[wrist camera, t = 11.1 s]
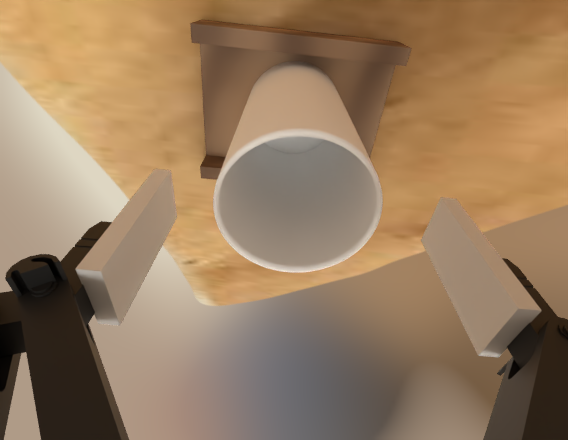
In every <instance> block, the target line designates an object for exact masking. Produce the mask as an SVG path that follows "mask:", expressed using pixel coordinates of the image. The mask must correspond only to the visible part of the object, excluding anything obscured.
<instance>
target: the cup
mask: <svg viewBox="0 0 568 440" xmlns="http://www.w3.org/2000/svg"><path fill="white" fill-rule="evenodd" d="M382 203H383V198H382V190H381V185H380V181H379V178H378V175H377V173H376V171H375V168H374V166H373V164H372V162H371V160H370V158H369V156H368V154H367V152H366V150H365V148H364V145H363V143H362V141H361V139H360V137H359V135H358V133H357V131H356V129H355V127H354V125H353V123H352V121H351V119H350V117H349V115H348V112H347V110H346V108H345V106H344V104H343V102H342V100H341V98H340V96H339V94H338V92H337V90H336V88H335V86H334V84H333V82H332V81H331V79H330V78H329V77H328V76H327V75H326V74H325V73H324V72H323V71H322V70H320V69H319V68H317V67H315V66H313V65H311V64H309V63H305V62H299V61H290V62H284V63H280V64H278V65H275V66H273V67H272V68H270V69H268V70H267V71H266V72H264V73H263V74H262V75H261V76H260V77H259V79H258V80H257V81H256V83H255V84H254V86H253V88H252V90H251V93H250V95H249V98H248V101H247V103H246V106H245V108H244V111H243V114H242V116H241V119H240V121H239V124H238V127H237V129H236V132H235V134H234V137H233V140H232V142H231V145H230V147H229V150H228V152H227V155H226V158H225V160H224V163H223V166H222V168H221V171H220V174H219V176H218V179H217V182H216V186H215V191H214V198H213V208H214V215H215V219H216V222H217V225H218V227H219V230H220V232H221V233H222V235H223V237H224V238H225V239H226V241H227V242H228V243H229V244H230V246H231V247H232V248H233V249H234V250H236V251H237V252H238V253H239V254H240V255H242V256H243V257H245V258H246V259H248V260H249V261H251V262H253V263H255V264H258V265H260V266H262V267H265V268H268V269H272V270H277V271H282V272H295V273H297V272H311V271H317V270H321V269H325V268H328V267H331V266H333V265H336V264H338V263H340V262H342V261H344V260H346V259H347V258H349V257H351V256H352V255H353V254H355V253H356V252H357V251H358V250H360V249H361V248H362V247H363V246H364V245H365V244H366V242H367V241H368V240H369V239H370V237H371V236H372V234H373V233H374V231H375V229H376V227H377V225H378V223H379V220H380V216H381V212H382Z"/></svg>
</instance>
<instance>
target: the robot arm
mask: <svg viewBox="0 0 568 440" xmlns="http://www.w3.org/2000/svg"><path fill="white" fill-rule="evenodd" d="M176 218H177V212H176V205H175V197H174V190H173V182H172V175H171V170H163V169H154V170H153V172H152V173H151V174H150V175H149V177H148V178H147V179H146V180H145V182H144V183H143V184H142V185H141V187H140V188H139V189H138V190H137V192H136V193H135V194H134V196H133V197H132V198H131V199H130V201H129V202H128V203H127V204H126V206H125V207H124V208H123V209H122V211H121V212H120V213H119V215H118V216H117V217H116V218H115V220H114V221H113V222H102V221H101V222H99V223H98V224H96V225H94V226H93V227H91V228H90V229H89V230H88V231H87V232H86V233H85V234H84V235H83V237H82V238H81V240H79V241H78V242H77V243H76V244H75V247H73V248H72V249H71V250H70V251H69V253H68V254H67V255H66V256H65V257H64V258H63V260H62V261H61V262H60V261H59V260H58V259H57V257H55V256H52V255H49V254H48V255H47V254H40V255H36V256H30V257H28V258H25V259H23V260H21V261H19V262H18V263H16V264H14V265H13V266H12V267H11V268H10V269H9V270H8V272H7V273H6V281H7V282H8V284H9V285H10V287H11V288H12V290H13V291H10V292H3V293H0V440H4V435H5V430H6V425H7V420H8V415H9V410H10V405H11V400H12V396H13V390H14V386H15V381H16V376H17V371H18V366H19V361H20V356H21V353H23V352H26V353H27V358H28V364H29V370H30V376H31V382H32V388H33V394H34V400H35V405H36V411H37V418H38V423H39V429H40V435H41V440H129V438H128V435H127V433H126V430H125V427H124V424H123V421H122V418H121V415H120V412H119V409H118V407H117V404H116V401H115V398H114V395H113V392H112V389H111V386H110V384H109V381H108V378H107V375H106V372H105V369H104V367H103V364H102V361H101V358H100V355H99V352H98V349H97V346H96V343H95V341H94V338H93V335H92V332H91V329H90V327H89V325H88V323H89V321H90V320H91V318H92V316H93V315H94V314H95V316H96V319H97V321H98V323H99V324H110V325H121V323H122V321H123V319H124V317H125V315H126V313H127V312H128V309H129V308H130V306H131V304H132V302H133V300H134V298H135V296H136V294H137V292H138V291H139V289H140V287H141V285H142V283H143V281H144V279H145V277H146V275H147V273H148V272H149V270H150V268H151V266H152V264H153V262H154V260H155V258H156V256H157V254H158V252H159V251H160V249H161V247H162V245H163V243H164V241H165V239H166V237H167V235H168V233H169V232H170V230H171V228H172V226H173V224H174V222H175V220H176ZM421 241H422V243H423V245H424V247H425V249H426V251H427V253H428V255H429V257H430V259H431V261H432V263H433V265H434V267H435V269H436V271H437V273H438V275H439V277H440V279H441V281H442V283H443V286H444V288H445V290H446V292H447V294H448V296H449V297H450V300H451V301H452V303H453V306H454V308H455V310H456V312H457V314H458V316H459V318H460V320H461V322H462V324H463V326H464V328H465V330H466V332H467V334H468V336H469V338H470V340H471V342H472V344H473V346H474V348H475V350H476V352H477V354H478V356H490V357H499V356H500V355H501V354H502V353H503V352H504V351H505V350H506V349H507V348H508V350H509V351H510V353H511V355H512V356H513V357H512V358H511V359H510V361H508V362H507V363H506V364H505V365H504V366H503V367H502V369H501V370H500V371H499V372H498V373H497V374H498V375H502V374H503V373H504V372H505V373H504V376H503V379H502V383H501V386H500V389H499V392H498V395H497V398H496V402H495V405H494V408H493V411H492V414H491V417H490V421H489V424H488V427H487V430H486V433H485V436H484V439H483V440H568V320H567V319H565V318H560V317H558V316H557V315H556V314H555V313H554V312H553V310H552V309H551V308H550V307H549V305H548V304H547V303H546V302H545V300H544V299H543V298H542V297H541V295H540V294H539V293H538V291H537V290H536V289H535V288H533V285H532V284H531V283H530V282H529V280H527V278H526V276H525V275H524V274H523V273H522V272H521V270H520V269H519V268H518V267H517V266H515V265H514V264H513V263H512V262H510V261H509V260H508V259H503V258H501V257H500V255H499V254H498V253H497V251H496V250H495V249H494V248H493V246H492V245H491V244H490V242H489V241H488V240H487V238H486V237H485V236H484V234H483V233H482V232H481V230H480V229H479V228H478V227H477V225H476V224H475V223H474V221H473V220H472V219H471V217H470V216H469V215H468V214H467V212H466V211H465V210H464V208H463V207H462V206H461V204H460V203H459V202H458V200H457V199H453V198H443V197H441V198H440V200H439V202H438V205H437V207H436V209H435V211H434V213H433V215H432V218H431V220H430V222H429V224H428V226H427V228H426V230H425V233H424V235H423V237H422V239H421Z"/></svg>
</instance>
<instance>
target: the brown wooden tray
mask: <svg viewBox="0 0 568 440" xmlns="http://www.w3.org/2000/svg"><path fill="white" fill-rule="evenodd" d="M190 24H191V39H192V43H200V54H201V72H202V90H203V108H204V126H205V144H206V156H205V158H204V160H203V162H202V164H201V166H200V170H201V178H206V179H218V176H219V174H220V171H221V168H222V166H223V163H224V160H225V158H226V155H227V152H228V150H229V147H230V145H231V142H232V140H233V137H234V134H235V132H236V129H237V127H238V124H239V121H240V119H241V116H242V114H243V111H244V108H245V106H246V103H247V101H248V98H249V95H250V93H251V90H252V88H253V86H254V84H255V83H256V81H257V80H258V79H259V77H260V76H261V75H262V74H263V73H264V72H266V71H267V70H268V69H270V68H272V67H273V66H275V65H278V64H280V63H284V62H290V61H299V62H305V63H309V64H311V65H313V66H315V67H317V68H319V69H320V70H322V71H323V72H324V73H325V74H326V75H327V76H328V77H329V78H330V79H331V81H332V82H333V84H334V86H335V88H336V90H337V92H338V94H339V96H340V98H341V100H342V102H343V104H344V106H345V108H346V110H347V112H348V115H349V117H350V119H351V121H352V123H353V125H354V127H355V129H356V131H357V133H358V135H359V137H360V139H361V141H362V143H363V145H364V148H365V150H366V152H367V154H368V156H369V158H370V155H371V152H372V148H373V144H374V141H375V137H376V134H377V130H378V127H379V123H380V119H381V116H382V112H383V109H384V105H385V101H386V98H387V94H388V91H389V87H390V83H391V80H392V76H393V73H394V69H395V66H396V65H401V66H406V65H407V62H408V59H409V55H410V52H411V48H410V47H408V46H406V45H404V44H402V43H399V42H395V41H386V40H377V39H368V38H359V37H350V36H341V35H333V34H324V33H315V32H306V31H297V30H288V29H279V28H271V27H262V26H253V25H244V24H235V23H226V22H217V21H209V20H199V21H196V22H193V23H190Z"/></svg>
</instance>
